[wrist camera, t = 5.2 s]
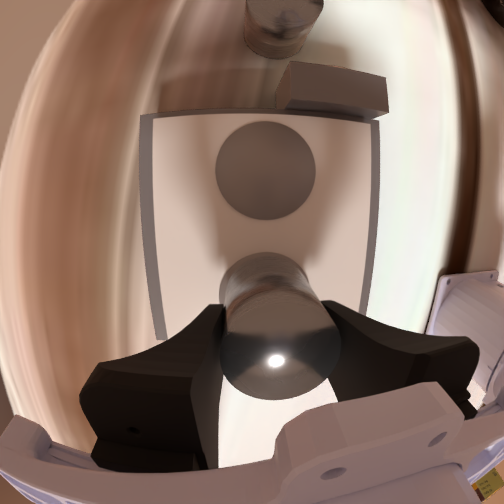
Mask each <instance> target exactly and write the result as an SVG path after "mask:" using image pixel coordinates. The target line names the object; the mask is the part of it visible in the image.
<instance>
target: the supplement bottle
mask: <svg viewBox="0 0 504 504" xmlns="http://www.w3.org/2000/svg"><path fill="white" fill-rule="evenodd" d="M482 1H483V3H484V5H485V7H486V8H487V10H488V11H489V12H490V14H491V15H492V16H493V18H494V19H495V20H496V21H497V22H498V23H499V24H500V25H501V26H502V27H503V28H504V0H482Z"/></svg>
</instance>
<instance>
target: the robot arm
mask: <svg viewBox="0 0 504 504" xmlns="http://www.w3.org/2000/svg"><path fill="white" fill-rule="evenodd" d="M497 279H498V271H496V270H491V271H482V272H473V273H463V274H452V275H443V276H441V277H440V279H439V282H438V287H437V291H436V296H435V300H434V304H433V308H432V312H431V316H430V320H429V323H428V327H427V330H426V334H420V333H415V332H410V331H406V330H402V329H398V328H395V327H392V326H389V325H386V324H383V323H380V322H378V321H376V320H373V319H371V318H369V317H366V316H364V315H362V314H360V313H358V312H356V311H354V310H352V309H350V308H348V307H346V306H344V305H342V304H340V303H338V302H336V301H333V300H321V303H322V305H323V306H324V308H325V309H326V311H327V312H328V314H329V315H330V317H331V319H332V320H333V322H334V323H335V325H336V327H337V329H338V331H339V334H340V337H341V353H340V357H339V360H338V362H337V364H336V366H335V368H334V370H333V371H332V373H331V374H330V375H329V376H328V379H329V382H330V384H331V386H332V388H333V390H334V392H335V395H336V397H337V400H338V402H336V403H330V404H326V405H323V406H320V407H317V408H313V409H310V410H306V411H304V412H303V413H301V414H300V415H298V416H297V417H295V418H294V419H292V420H291V421H289V422H288V423H286V424H285V425H284V426H283V428H282V429H281V431H280V433H279V435H278V436H277V438H276V441H275V450H274V455H273V457H272V459H267V460H263V461H258V462H253V463H248V464H243V465H237V466H231V467H225V468H218V422H219V402H220V395H221V388H222V381H223V375H224V374H223V371H222V369H221V365H220V358H219V356H220V345H221V334H222V323H223V313H224V304H209V305H208V306H207V307H206V308H205V309H204V310H203V311H202V312H201V313H200V314H199V315H198V316H197V317H196V318H195V319H194V320H193V321H192V322H191V323H190V324H188V325H187V326H186V327H185V328H184V329H182V330H181V331H180V332H178V333H177V334H176V335H174V336H173V337H171V338H169V339H168V340H166V341H165V342H163V343H161V344H159V345H157V346H154V347H152V348H150V349H148V350H146V351H143V352H141V353H138V354H135V355H132V356H128V357H125V358H121V359H116V360H111V361H106V362H101V363H98V365H97V366H96V367H95V369H94V370H93V372H92V373H91V375H90V377H89V378H88V380H87V382H86V383H85V385H84V386H83V388H82V390H81V392H80V394H79V401H80V405H81V408H82V410H83V412H84V414H85V416H86V418H87V420H88V421H89V423H90V425H91V427H92V428H93V430H94V432H95V434H96V435H97V437H98V439H97V441H96V443H95V446H94V448H93V450H92V453H91V454H89V453H86V452H83V451H80V450H77V449H73V448H71V447H68V446H65V445H62V444H59V443H57V442H54V441H52V439H51V438H50V436H49V434H48V433H47V431H46V430H45V429H44V428H43V427H42V426H40V425H39V424H37V423H35V422H33V421H31V420H28V419H26V418H24V417H22V416H19V415H15V416H14V418H13V419H12V420H11V422H10V423H9V425H8V426H7V428H6V429H5V431H4V432H3V434H2V435H1V437H0V474H1V475H2V476H3V477H4V478H5V479H6V480H7V481H8V482H9V483H10V484H11V485H12V486H13V487H15V488H16V489H17V490H18V491H19V492H20V493H21V494H22V495H24V496H25V497H26V498H27V499H29V500H30V501H32V502H34V503H36V504H482V502H481V501H480V499H479V497H478V496H477V494H476V492H475V491H474V489H473V487H472V486H471V485H472V484H473V483H475V482H476V481H477V480H479V479H480V478H481V477H482V476H484V475H485V474H486V473H487V472H489V471H490V470H491V469H492V468H494V467H495V466H496V465H497V464H498V463H500V462H501V461H502V460H503V459H504V284H502V283H500V282H498V281H497ZM447 280H448V281H447ZM471 379H473V380H474V381H475V382H476V383H477V384H478V385H479V386H480V387H481V388H482V390H483V391H484V392H485V393H486V395H485V397H484V398H483V400H482V401H483V402H484V404H485V406H484V407H482V408H480V409H478V410H476V409H475V408H474V407H473V405H472V404H471V403H470V402H469V401H468V399H469V398H470V396H471V395H470V393H469V392H468V391H467V387H468V385H469V383H470V381H471Z"/></svg>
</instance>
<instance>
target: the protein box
mask: <svg viewBox="0 0 504 504" xmlns="http://www.w3.org/2000/svg"><path fill="white" fill-rule="evenodd" d="M471 486H472V487H473V489H474V491H475V492H476V494H477V496H478V497H479V499H480V501H481V502H482V503H483V502H485V501H486V500H487V499H488V498H489V497H491V496H492V495H493V494H494V493H496V492H497V491H498V490H499V489H500V488H501V487H503V486H504V482H503V480H502V478H501V477H500V475H499V474H498V472H497V471H496V469H495V468H492V469H491V470H490V471H489V472H487V473H486V474H485V475H484V476H482V477H481V478H480V479H479V480H477V481H476V482H475V483H473V484H472V485H471Z"/></svg>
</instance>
